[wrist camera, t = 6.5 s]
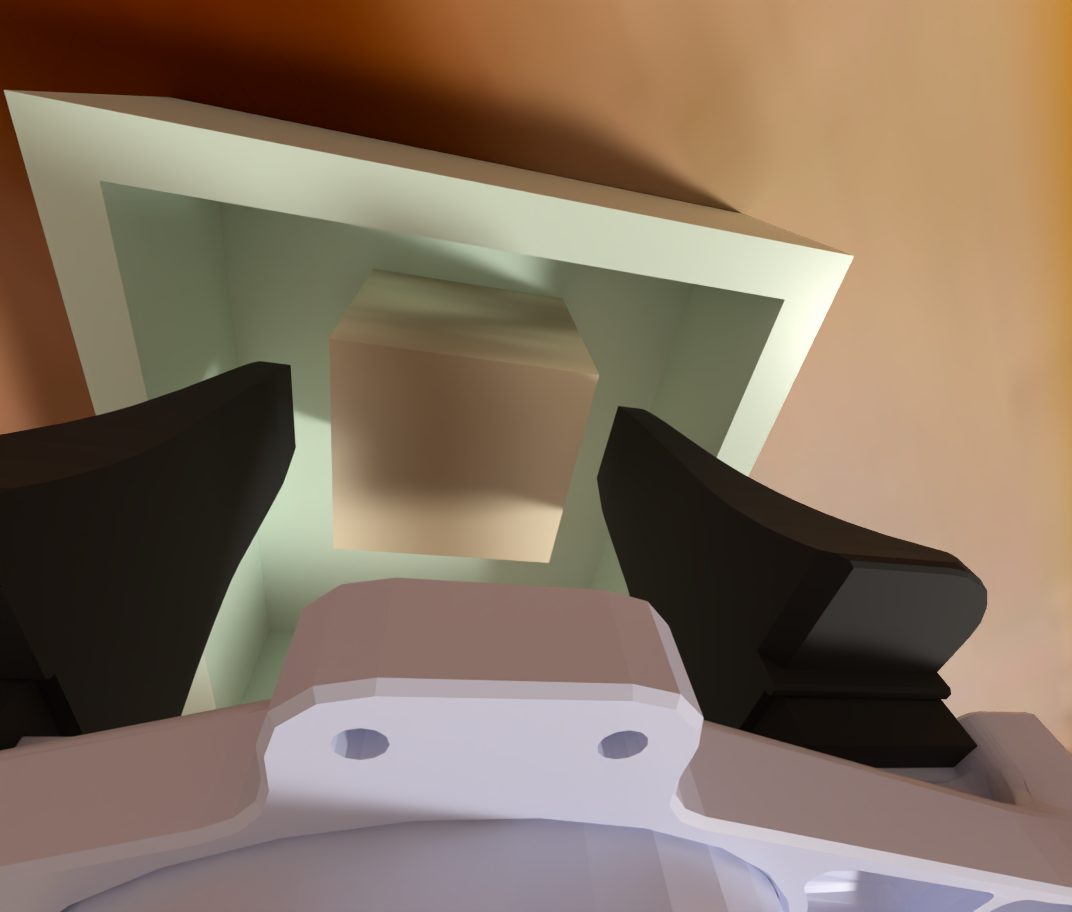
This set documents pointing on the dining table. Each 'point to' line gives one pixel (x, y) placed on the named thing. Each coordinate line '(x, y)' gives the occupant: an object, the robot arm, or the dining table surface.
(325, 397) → the tote
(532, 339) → the birch cube
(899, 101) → the dining table surface
